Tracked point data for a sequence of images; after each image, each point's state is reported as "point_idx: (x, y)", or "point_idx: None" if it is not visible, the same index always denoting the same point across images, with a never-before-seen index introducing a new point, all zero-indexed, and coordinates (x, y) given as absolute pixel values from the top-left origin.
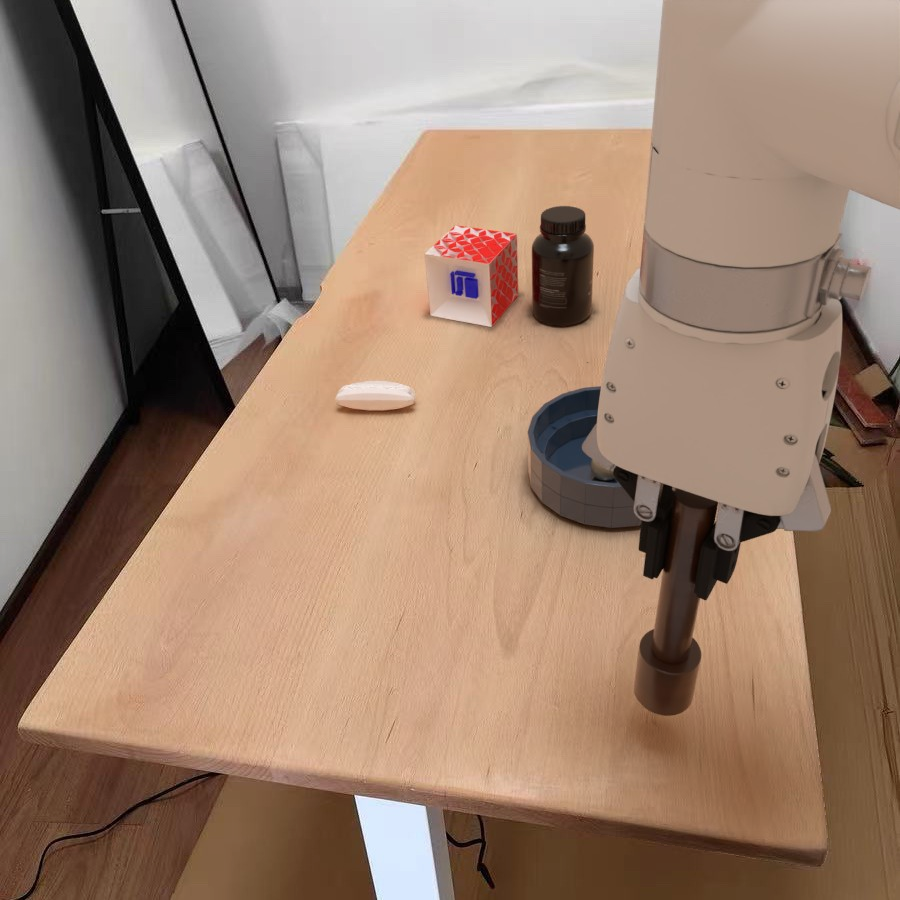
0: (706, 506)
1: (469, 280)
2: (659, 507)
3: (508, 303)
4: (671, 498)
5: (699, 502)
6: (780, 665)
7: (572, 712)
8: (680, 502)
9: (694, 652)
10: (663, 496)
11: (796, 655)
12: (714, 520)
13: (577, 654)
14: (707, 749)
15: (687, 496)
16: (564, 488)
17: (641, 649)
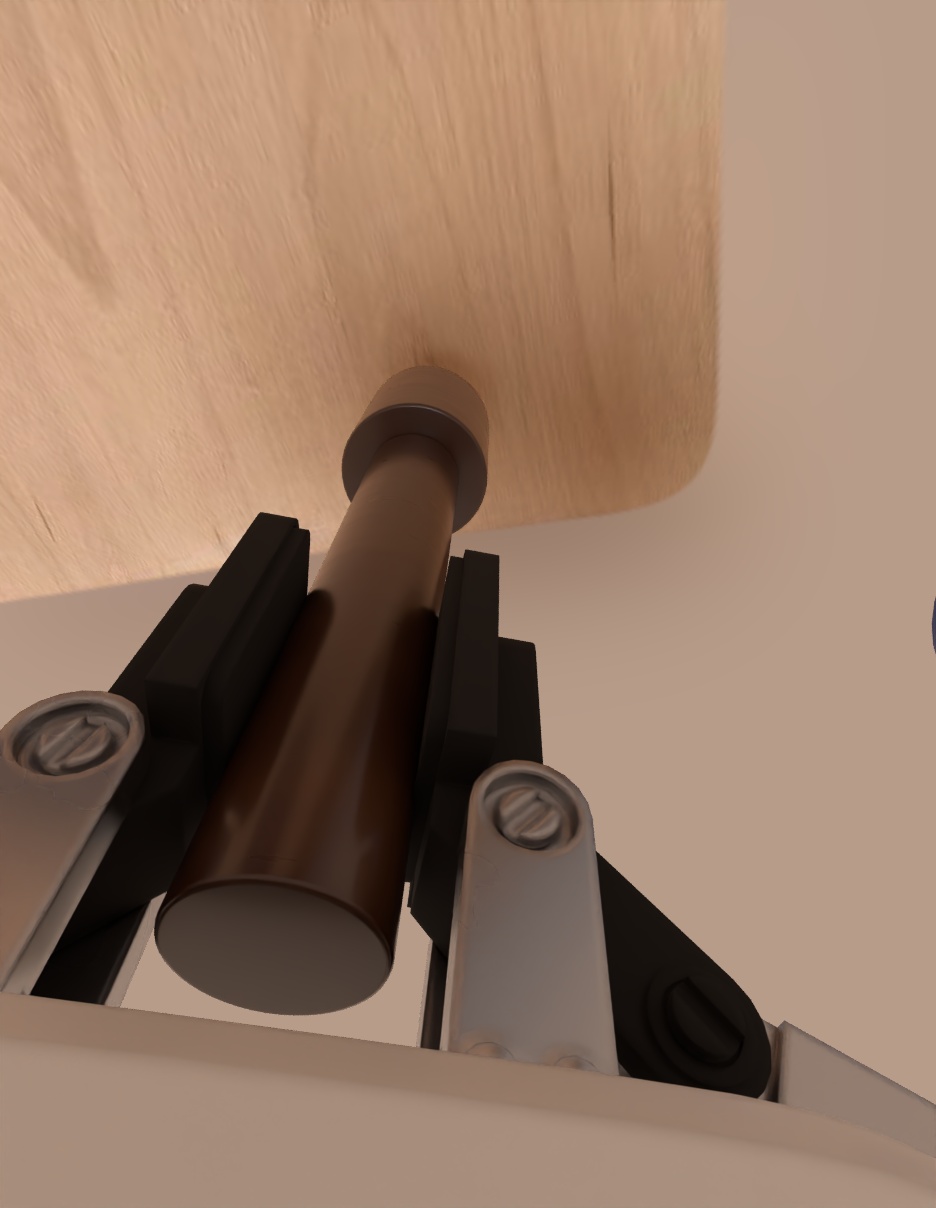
0: (346, 1004)
1: None
2: (149, 904)
3: None
4: (169, 820)
5: (305, 988)
6: (676, 87)
7: (286, 390)
8: (220, 998)
9: (469, 468)
10: (127, 866)
11: (719, 29)
12: (408, 848)
13: (231, 240)
14: (533, 385)
15: (233, 971)
16: None
17: (352, 498)
